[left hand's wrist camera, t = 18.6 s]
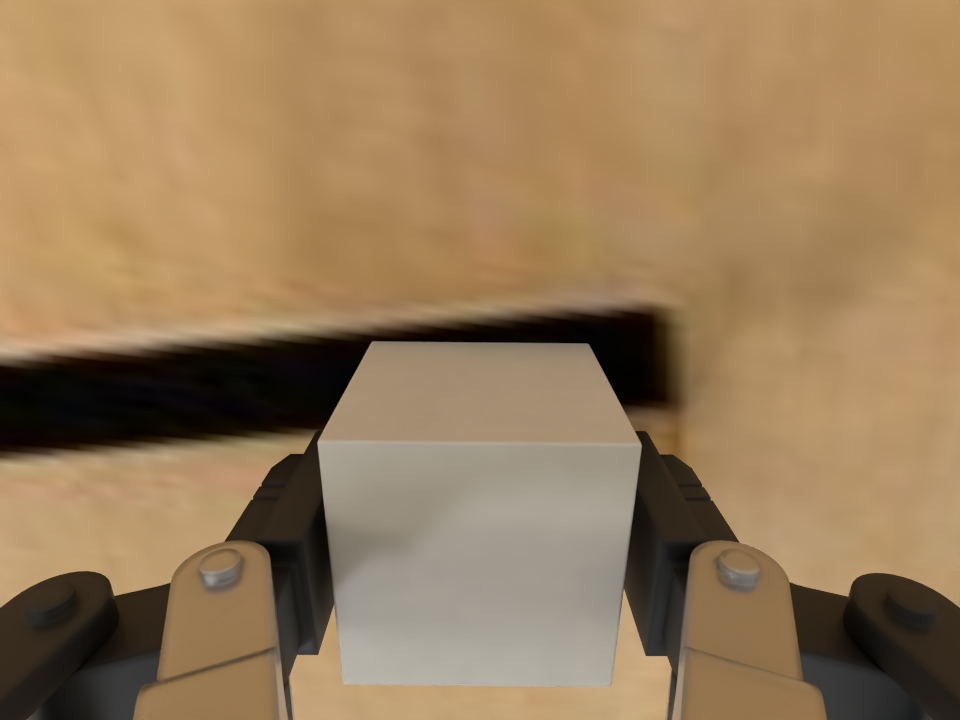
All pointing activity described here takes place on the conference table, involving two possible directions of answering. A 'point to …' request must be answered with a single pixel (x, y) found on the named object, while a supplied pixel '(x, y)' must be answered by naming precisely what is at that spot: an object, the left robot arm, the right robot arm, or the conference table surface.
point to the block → (478, 515)
